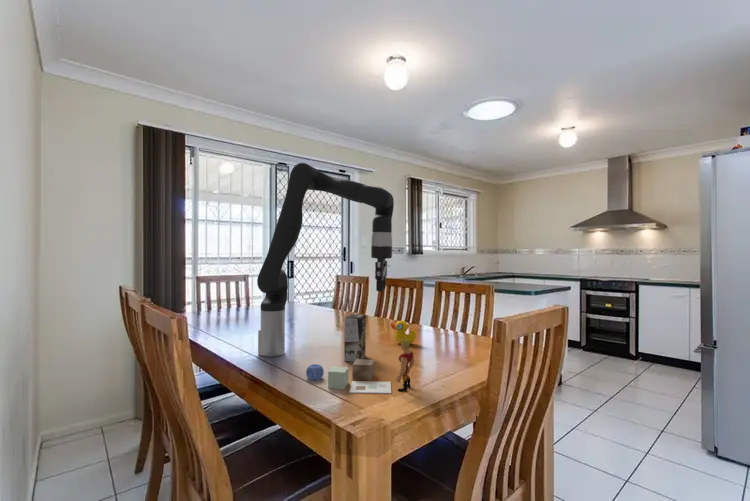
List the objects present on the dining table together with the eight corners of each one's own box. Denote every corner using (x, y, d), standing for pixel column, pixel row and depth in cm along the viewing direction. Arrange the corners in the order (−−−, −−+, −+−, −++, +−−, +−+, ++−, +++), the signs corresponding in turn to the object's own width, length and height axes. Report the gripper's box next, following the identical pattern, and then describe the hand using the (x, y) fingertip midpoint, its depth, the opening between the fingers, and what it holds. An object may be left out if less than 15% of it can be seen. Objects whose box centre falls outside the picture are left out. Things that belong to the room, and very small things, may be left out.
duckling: (388, 344, 168) (388, 321, 168) (392, 341, 173) (392, 319, 173) (414, 346, 165) (414, 323, 164) (417, 343, 170) (417, 320, 170)
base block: (352, 380, 122) (352, 364, 122) (356, 374, 128) (356, 358, 128) (371, 381, 122) (371, 365, 122) (374, 375, 127) (374, 359, 127)
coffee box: (360, 362, 141) (361, 318, 141) (343, 361, 142) (343, 317, 142) (366, 355, 150) (366, 314, 150) (350, 354, 151) (350, 313, 151)
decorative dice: (315, 375, 126) (315, 363, 126) (323, 378, 124) (323, 365, 124) (305, 378, 123) (306, 366, 123) (314, 381, 121) (314, 368, 121)
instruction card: (349, 393, 111) (349, 391, 111) (352, 382, 120) (352, 381, 120) (391, 393, 111) (391, 392, 111) (390, 382, 120) (390, 381, 120)
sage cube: (328, 388, 115) (328, 371, 115) (332, 382, 120) (332, 366, 120) (344, 389, 114) (344, 372, 114) (348, 383, 119) (348, 367, 119)
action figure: (404, 382, 120) (404, 334, 120) (415, 384, 118) (415, 335, 118) (393, 393, 111) (393, 341, 111) (405, 395, 110) (405, 342, 110)
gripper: (374, 245, 148) (373, 287, 148) (368, 244, 133) (367, 291, 134) (393, 245, 147) (393, 288, 147) (390, 245, 132) (389, 292, 133)
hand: (381, 289), depth 140 cm, fingers open, 8 cm apart
